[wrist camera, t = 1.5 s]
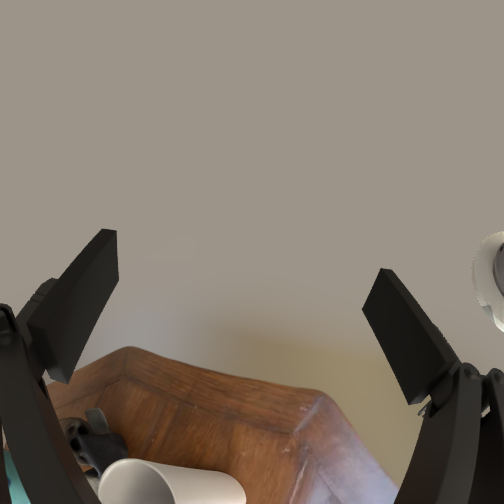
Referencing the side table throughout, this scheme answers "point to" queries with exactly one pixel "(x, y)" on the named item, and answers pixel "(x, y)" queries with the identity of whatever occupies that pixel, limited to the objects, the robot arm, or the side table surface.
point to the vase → (14, 481)
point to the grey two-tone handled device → (93, 444)
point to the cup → (166, 485)
